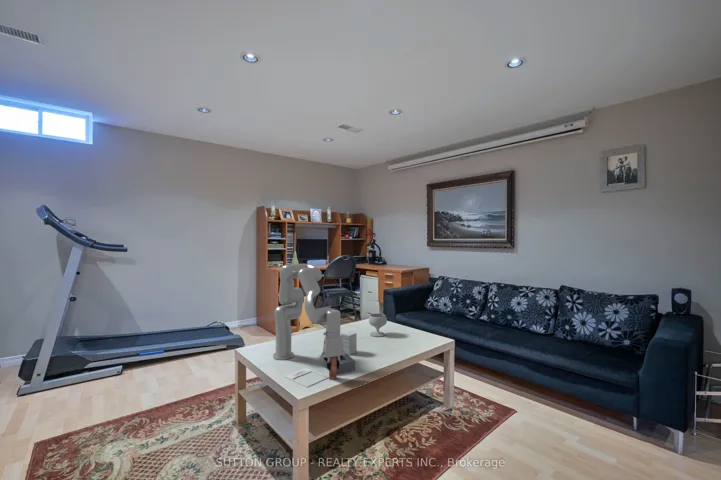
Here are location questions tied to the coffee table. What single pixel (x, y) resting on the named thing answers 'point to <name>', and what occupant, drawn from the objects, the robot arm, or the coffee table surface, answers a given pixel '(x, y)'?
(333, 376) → the peg
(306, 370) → the photo frame
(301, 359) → the coffee table surface
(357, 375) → the coffee table surface
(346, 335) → the supplement box
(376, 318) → the chalice
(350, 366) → the socket block
